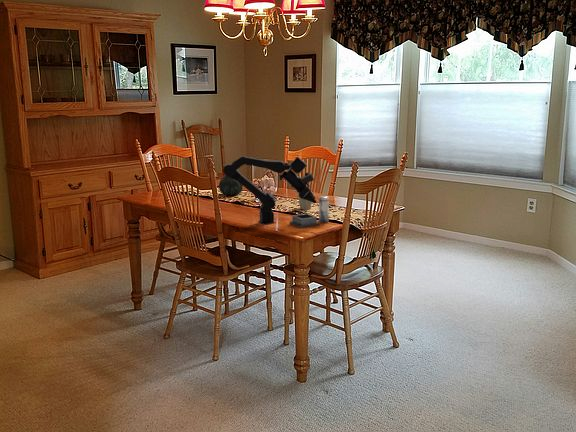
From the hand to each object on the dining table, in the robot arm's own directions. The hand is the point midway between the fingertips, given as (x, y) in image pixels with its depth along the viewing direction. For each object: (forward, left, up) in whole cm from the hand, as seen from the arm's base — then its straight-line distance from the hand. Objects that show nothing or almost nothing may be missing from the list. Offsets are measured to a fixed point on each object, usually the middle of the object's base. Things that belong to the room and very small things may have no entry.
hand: (315, 200), depth 298 cm
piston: (+4, -2, -11) cm, 12 cm away
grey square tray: (-7, -1, -11) cm, 13 cm away
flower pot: (+12, +30, -11) cm, 34 cm away
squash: (-8, +89, -11) cm, 90 cm away
